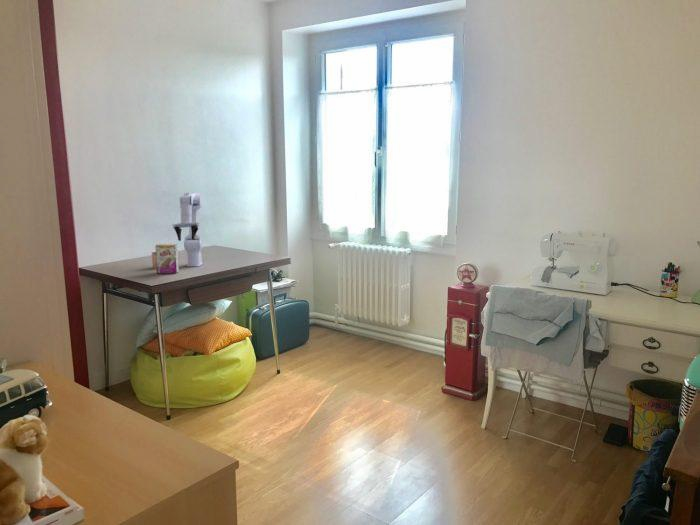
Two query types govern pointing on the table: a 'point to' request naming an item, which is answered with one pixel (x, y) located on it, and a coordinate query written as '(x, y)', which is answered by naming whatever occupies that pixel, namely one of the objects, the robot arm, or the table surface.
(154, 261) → the terracotta pencil cup
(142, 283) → the table surface
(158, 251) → the candy bar box
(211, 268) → the table surface
